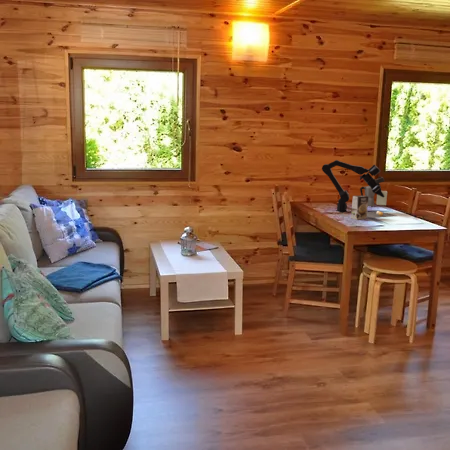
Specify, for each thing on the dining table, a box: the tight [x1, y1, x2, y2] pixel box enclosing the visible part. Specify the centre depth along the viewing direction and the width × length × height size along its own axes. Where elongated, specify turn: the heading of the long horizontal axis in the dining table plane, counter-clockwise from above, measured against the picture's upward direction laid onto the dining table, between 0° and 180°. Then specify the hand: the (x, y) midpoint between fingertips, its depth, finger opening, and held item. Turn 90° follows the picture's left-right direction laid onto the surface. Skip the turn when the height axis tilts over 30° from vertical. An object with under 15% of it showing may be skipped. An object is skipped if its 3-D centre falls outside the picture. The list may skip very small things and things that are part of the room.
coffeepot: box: [359, 185, 376, 208], centre depth 421 cm, size 15×9×18 cm, turn 103°
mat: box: [367, 210, 397, 219], centre depth 382 cm, size 24×20×1 cm
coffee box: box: [350, 194, 368, 221], centre depth 364 cm, size 9×6×16 cm
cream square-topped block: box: [375, 190, 388, 206], centre depth 384 cm, size 7×7×10 cm
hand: (383, 196), depth 383 cm, fingers closed on cream square-topped block, 7 cm apart
